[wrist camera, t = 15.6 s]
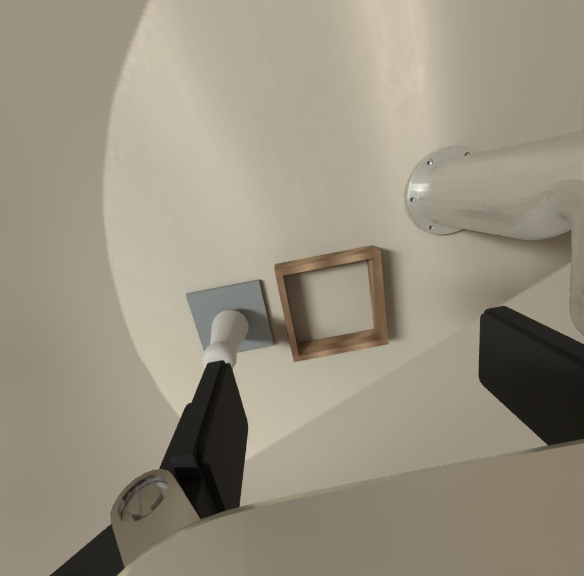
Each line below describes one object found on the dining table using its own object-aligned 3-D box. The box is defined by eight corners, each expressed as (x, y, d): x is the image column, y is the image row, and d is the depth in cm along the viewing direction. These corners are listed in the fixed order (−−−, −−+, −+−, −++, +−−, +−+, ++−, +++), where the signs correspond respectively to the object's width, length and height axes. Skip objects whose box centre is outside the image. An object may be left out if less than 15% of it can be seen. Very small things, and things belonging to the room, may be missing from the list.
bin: (371, 245, 46) (380, 250, 42) (380, 332, 51) (388, 343, 47) (274, 264, 46) (274, 270, 42) (292, 349, 51) (293, 362, 47)
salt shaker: (255, 328, 49) (248, 374, 36) (225, 341, 49) (208, 390, 37) (240, 299, 47) (227, 337, 35) (208, 312, 47) (185, 354, 35)
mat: (259, 279, 47) (258, 280, 46) (273, 343, 51) (273, 345, 50) (187, 293, 47) (185, 294, 46) (207, 355, 51) (206, 358, 50)
